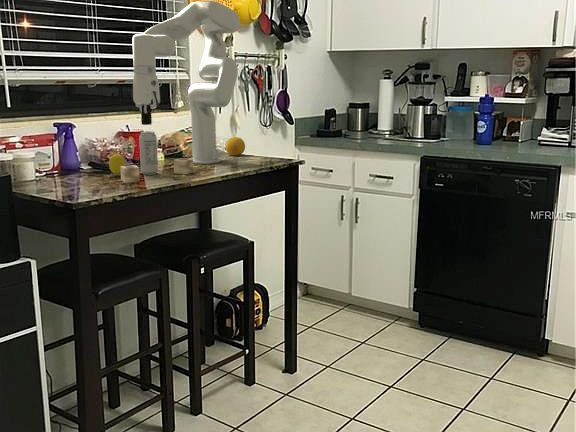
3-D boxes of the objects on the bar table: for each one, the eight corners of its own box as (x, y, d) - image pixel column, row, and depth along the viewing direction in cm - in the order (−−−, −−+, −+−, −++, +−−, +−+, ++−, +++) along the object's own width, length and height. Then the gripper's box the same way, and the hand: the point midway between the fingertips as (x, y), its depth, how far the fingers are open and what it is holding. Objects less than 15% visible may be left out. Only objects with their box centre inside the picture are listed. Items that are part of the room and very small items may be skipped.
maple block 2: (182, 171, 232) (181, 157, 230) (193, 172, 229) (193, 158, 228) (174, 173, 227) (173, 159, 226) (185, 174, 225) (184, 160, 224)
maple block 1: (135, 179, 215) (134, 164, 214) (139, 182, 211) (138, 166, 209) (121, 180, 213) (120, 165, 211) (124, 183, 208) (123, 167, 207)
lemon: (120, 173, 225) (119, 151, 223) (128, 175, 221) (127, 153, 220) (106, 175, 222) (105, 152, 220) (114, 177, 218) (113, 154, 216)
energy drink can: (154, 171, 230) (152, 130, 226) (160, 174, 225) (159, 132, 221) (138, 173, 226) (136, 131, 223) (144, 175, 221) (142, 133, 218)
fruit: (221, 155, 271) (221, 137, 269) (234, 153, 277) (234, 135, 275) (236, 157, 265) (235, 138, 263) (249, 155, 271) (248, 137, 269)
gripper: (166, 71, 215) (168, 125, 219) (141, 71, 224) (142, 122, 229) (148, 71, 209) (150, 126, 213) (123, 70, 219) (125, 123, 223)
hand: (146, 124), depth 221 cm, fingers closed
